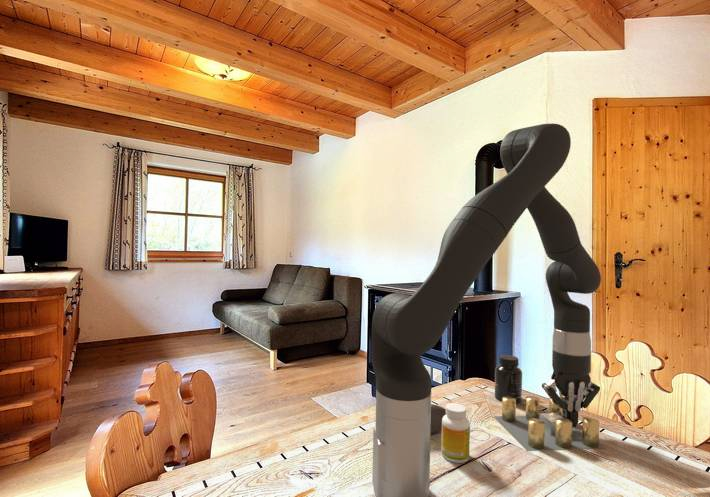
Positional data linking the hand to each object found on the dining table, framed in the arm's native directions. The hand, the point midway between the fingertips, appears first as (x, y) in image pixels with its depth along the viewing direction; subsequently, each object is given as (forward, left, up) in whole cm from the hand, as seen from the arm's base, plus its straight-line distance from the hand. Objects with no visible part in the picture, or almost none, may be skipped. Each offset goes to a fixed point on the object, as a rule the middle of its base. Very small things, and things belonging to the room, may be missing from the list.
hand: (570, 425), depth 82 cm
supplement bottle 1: (-30, -8, -2) cm, 31 cm away
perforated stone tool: (-35, +1, -2) cm, 35 cm away
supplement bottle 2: (-6, +17, -2) cm, 18 cm away
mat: (-9, 0, -2) cm, 9 cm away
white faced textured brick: (-4, 0, -1) cm, 4 cm away
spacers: (-6, 0, -2) cm, 6 cm away
